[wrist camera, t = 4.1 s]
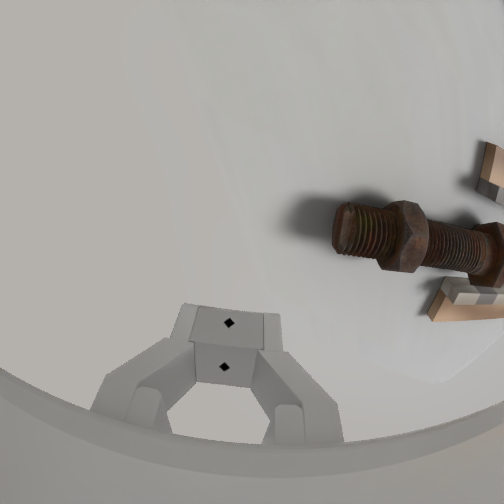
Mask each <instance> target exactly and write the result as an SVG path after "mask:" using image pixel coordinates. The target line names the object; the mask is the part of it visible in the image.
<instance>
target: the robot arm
mask: <svg viewBox="0 0 504 504" xmlns="http://www.w3.org/2000/svg"><path fill="white" fill-rule="evenodd" d="M196 382H204V383H212V384H222V385H223V384H224V385H229V386H237V387H246V388H251V391H252V392H253V394H254V395H255V397H256V399H257V400H258V402H259V404H260V405H261V407H262V408H263V410H264V411H265V413H266V414H267V416H268V418H269V419H270V423H269V426H268V428H267V431H266V434H265V437H264V439H263V441H262V444H245V443H233V442H224V441H215V440H207V439H200V438H194V437H188V436H182V435H177V434H173V433H172V430H171V426H170V423H169V420H168V416H167V411H168V410H169V409H170V408H171V407H172V406H173V405H174V404H175V403H176V402H177V401H178V400H179V399H180V398H181V397H182V396H184V395H185V394H186V393H187V392H188V391H189V390H190V389H191V388H192V387H193V386H194V385H195V384H196ZM0 504H504V401H502V402H500V403H498V404H495V405H493V406H491V407H488V408H486V409H484V410H481V411H478V412H476V413H473V414H470V415H467V416H464V417H462V418H459V419H456V420H453V421H449V422H446V423H443V424H439V425H436V426H432V427H428V428H425V429H420V430H416V431H412V432H408V433H403V434H398V435H393V436H387V437H382V438H376V439H369V440H362V441H353V442H344V439H343V433H342V427H341V422H340V416H339V411H338V406H337V403H336V402H335V401H334V400H333V399H332V398H331V397H330V396H329V395H328V394H327V393H326V392H325V391H324V389H323V388H322V387H321V386H320V385H319V384H318V383H317V382H316V381H315V380H314V379H313V378H312V377H311V376H310V375H309V374H308V373H307V372H306V371H305V370H304V369H303V367H302V366H301V365H300V364H299V363H298V362H297V361H296V360H295V359H294V358H293V357H292V356H291V355H290V354H289V352H283V345H282V331H281V318H280V315H279V314H276V313H256V312H247V311H237V310H229V309H221V308H215V307H207V306H201V305H200V306H199V305H193V304H187V303H184V304H183V305H182V307H181V309H180V312H179V314H178V317H177V320H176V323H175V325H174V328H173V331H172V333H171V336H170V338H164V339H162V340H161V341H159V342H157V343H156V344H154V345H153V346H151V347H150V348H148V349H147V350H145V351H143V352H142V353H140V354H139V355H137V356H136V357H134V358H133V359H131V360H129V361H128V362H126V363H124V364H123V365H121V366H120V367H118V368H117V369H115V370H113V371H112V372H110V373H109V374H107V375H106V376H105V378H104V380H103V383H102V385H101V387H100V389H99V391H98V393H97V395H96V398H95V400H94V402H93V404H92V407H91V409H90V410H87V409H84V408H82V407H79V406H76V405H74V404H72V403H69V402H67V401H64V400H62V399H60V398H57V397H55V396H53V395H51V394H49V393H46V392H44V391H42V390H40V389H38V388H36V387H34V386H32V385H30V384H28V383H26V382H24V381H22V380H21V379H19V378H17V377H15V376H14V375H12V374H10V373H8V372H7V371H5V370H3V369H2V368H0Z"/></svg>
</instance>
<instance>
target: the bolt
mask: <svg viewBox="0 0 504 504" xmlns="http://www.w3.org/2000/svg"><path fill="white" fill-rule="evenodd" d="M332 246H333V248H334V249H335V250H336V252H337V254H341V253H342V254H343V255H346V254H347V255H348V256H349V255H352V256H358V257H360V256H362V257H363V258H364V257H366V258H372V259H376V260H377V262H378V264H379V266H380V268H381V269H382V270H388V271H397V272H408V273H414V272H415V270H416V269H417V268H418V267H419V266H425V267H432V268H434V267H435V268H439V269H441V268H442V269H450V270H456V271H460V272H466V273H468V277H469V282H470V285H473V286H482V287H491V288H501V286H502V285H503V284H504V225H503V224H501V223H498V222H493V223H487V224H481V225H475V227H474V230H473V231H472V230H468V229H464V228H461V227H457V226H453V225H449V224H446V223H442V222H437V221H433V220H429V219H426V216H425V214H424V212H423V211H422V209H421V208H420V206H419V205H418V204H417V203H413V202H409V201H405V200H403V201H396V202H392V203H390V204H388V205H387V206H386V207H385V208H384V209H379V208H375V207H370V206H365V205H359V204H357V205H356V204H355V203H351V204H350V202H347V203H345V204H342V205H340V206H339V207H338V208H337V212H336V216H335V220H334V224H333V232H332Z"/></svg>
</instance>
